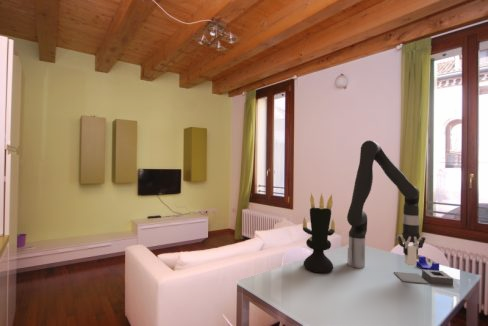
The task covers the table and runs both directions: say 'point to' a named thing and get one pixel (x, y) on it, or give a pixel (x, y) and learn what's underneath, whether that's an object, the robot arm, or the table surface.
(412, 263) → the plug
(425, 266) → the cable clip
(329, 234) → the candelabra
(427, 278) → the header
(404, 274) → the mat
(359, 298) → the table surface
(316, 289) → the table surface
